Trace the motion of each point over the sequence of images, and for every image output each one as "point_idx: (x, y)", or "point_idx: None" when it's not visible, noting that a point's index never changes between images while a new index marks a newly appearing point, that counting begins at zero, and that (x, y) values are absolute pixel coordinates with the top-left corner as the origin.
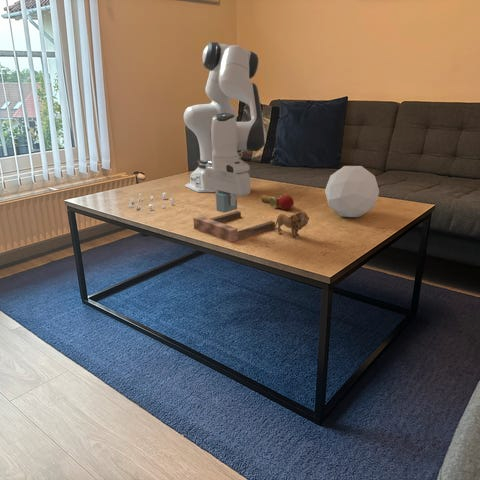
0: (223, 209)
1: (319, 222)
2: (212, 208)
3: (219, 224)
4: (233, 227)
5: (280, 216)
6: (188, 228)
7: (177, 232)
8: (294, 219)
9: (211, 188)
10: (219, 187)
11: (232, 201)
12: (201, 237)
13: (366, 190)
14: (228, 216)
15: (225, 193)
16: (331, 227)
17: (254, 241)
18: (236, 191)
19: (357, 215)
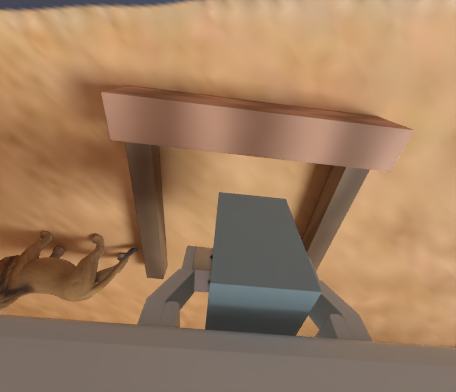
0: (223, 203)
1: (113, 319)
2: (406, 285)
3: (220, 132)
4: (134, 139)
5: (66, 286)
6: (404, 100)
7: (441, 9)
8: None
9: (424, 345)
10: (313, 374)
11: (182, 271)
12: (275, 40)
13: None
14: None
15: (247, 320)
16: (71, 311)
17: (83, 150)
18: (20, 358)
19: None
